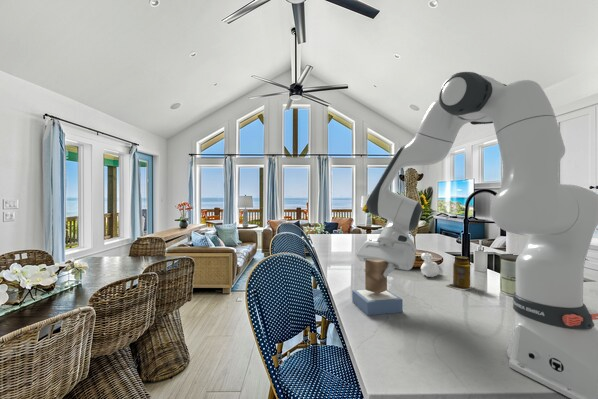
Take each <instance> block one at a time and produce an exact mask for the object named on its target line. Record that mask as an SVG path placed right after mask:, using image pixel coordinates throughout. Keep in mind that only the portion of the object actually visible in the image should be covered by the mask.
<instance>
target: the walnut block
mask: <svg viewBox="0 0 598 399" xmlns="http://www.w3.org/2000/svg"><path fill="white" fill-rule="evenodd" d="M364 263H365V268H364V272H365V275H364V276H365V278H364V279H365V280H364V283H365V287H364V289H365V290H368V291H371V292H375V293H378V294H379V293H381V292H384V291H386V290H388V277H387V278H385V277H382V276H381V272H382V270H385V269H386V268H388V266H387V262H385V260H379V259H374V258H372V259H367V260H365V262H364Z"/></svg>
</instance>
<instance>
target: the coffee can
mask: <svg viewBox="0 0 598 399" xmlns="http://www.w3.org/2000/svg"><path fill="white" fill-rule="evenodd" d="M513 254H514V253H502V254H499V264H500V265H499V270H500V272H499V273H500V274H499V275H500V277H499V278H500V280H499V281H500V283H499V286H500V294H502V295H505V296H508V297H512V298H513V293H514V292H516V259H517V257H518V255H513Z"/></svg>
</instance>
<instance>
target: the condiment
mask: <svg viewBox="0 0 598 399" xmlns="http://www.w3.org/2000/svg"><path fill="white" fill-rule="evenodd" d="M453 257H454V258H453V259H454V260H453V264H452V267H453V268H452V269H453V270H452V278H453V279H452V283H450V284H447V285H445V286H446V287H448V288H452V289H456V290H459V291H467V290H471V289H473V288H475V286H473V285H471V264H470V257H467V256H462V255H456V256H453Z"/></svg>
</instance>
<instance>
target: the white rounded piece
mask: <svg viewBox="0 0 598 399" xmlns="http://www.w3.org/2000/svg"><path fill="white" fill-rule="evenodd" d="M420 258H421V260H423V263H422V265H421V266H420V271H421V274H422V275H424V276H426V278H428V277H430V278H433V277H437V276H438V274H439V272H440V267H439V265H438V263H437V262H435V261H432V260H433V259H434V257H433V255H432V253H429V252H423V253H421V255H420Z"/></svg>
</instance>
